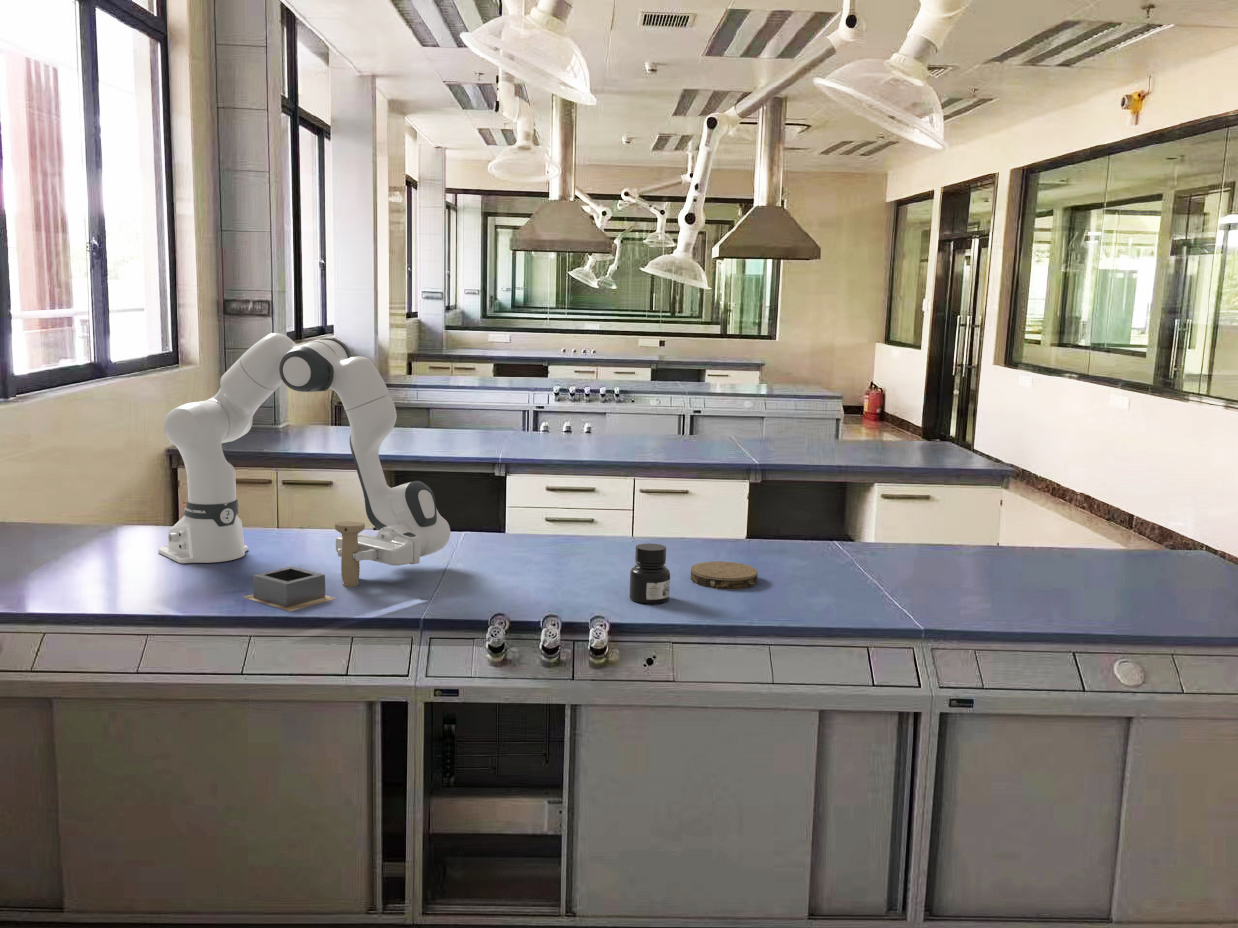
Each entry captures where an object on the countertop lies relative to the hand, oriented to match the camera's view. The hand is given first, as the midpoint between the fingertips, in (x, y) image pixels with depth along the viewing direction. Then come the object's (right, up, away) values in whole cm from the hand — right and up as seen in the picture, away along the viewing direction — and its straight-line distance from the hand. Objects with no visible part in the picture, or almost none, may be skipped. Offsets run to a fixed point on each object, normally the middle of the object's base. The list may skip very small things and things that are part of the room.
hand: (347, 555), depth 233 cm
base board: (-10, -9, -9) cm, 16 cm away
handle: (0, -8, +2) cm, 8 cm away
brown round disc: (+86, -8, +18) cm, 88 cm away
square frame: (-10, -8, -9) cm, 16 cm away
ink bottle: (+67, -10, +1) cm, 68 cm away
